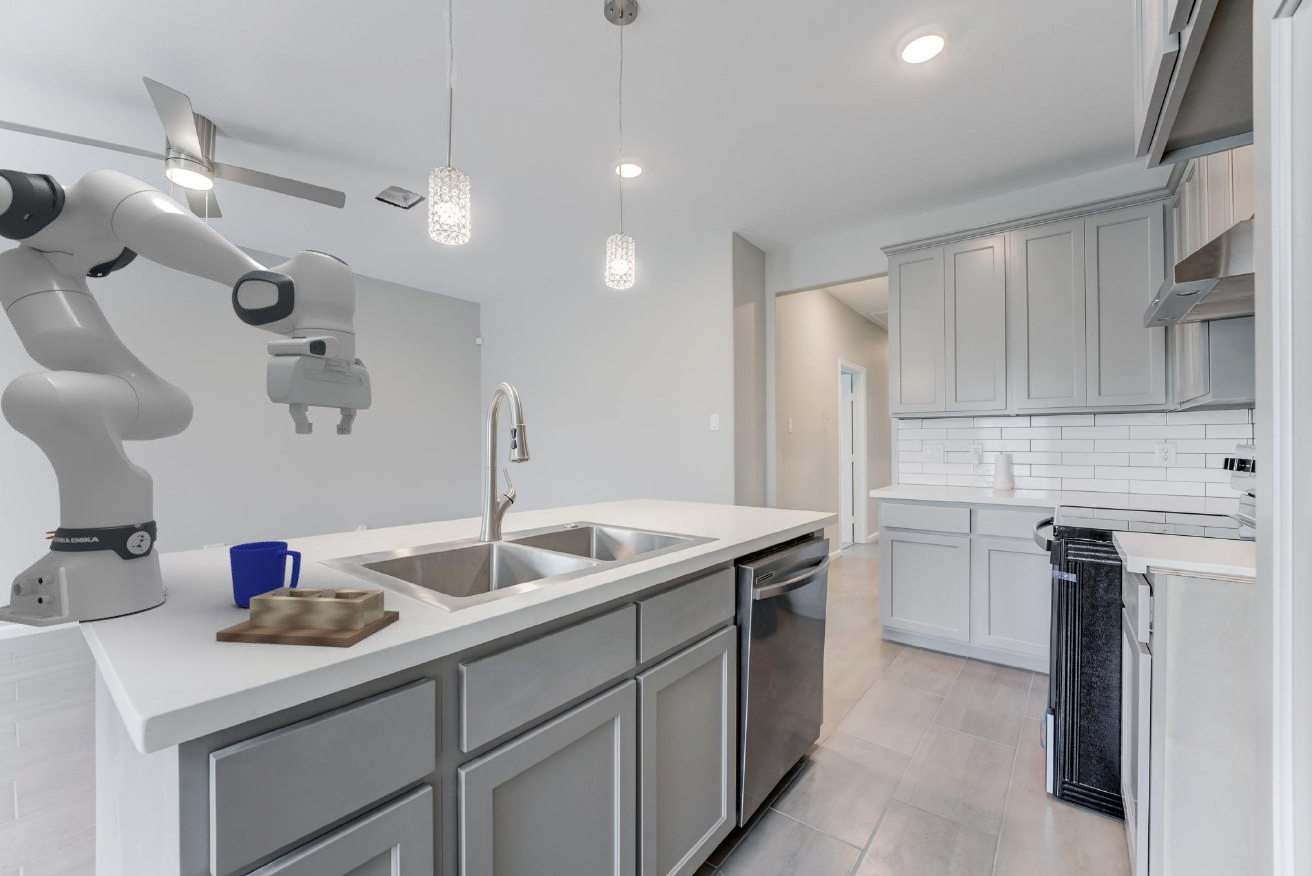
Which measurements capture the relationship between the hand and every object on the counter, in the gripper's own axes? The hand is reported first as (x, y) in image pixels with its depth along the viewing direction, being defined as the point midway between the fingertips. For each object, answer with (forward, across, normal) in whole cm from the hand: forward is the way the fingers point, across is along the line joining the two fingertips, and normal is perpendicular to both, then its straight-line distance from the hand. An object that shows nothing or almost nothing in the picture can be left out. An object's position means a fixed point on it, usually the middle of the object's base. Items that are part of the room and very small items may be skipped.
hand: (325, 434), depth 93 cm
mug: (+29, -2, -12) cm, 32 cm away
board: (+29, +9, +5) cm, 31 cm away
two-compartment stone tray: (+28, +9, +6) cm, 30 cm away
